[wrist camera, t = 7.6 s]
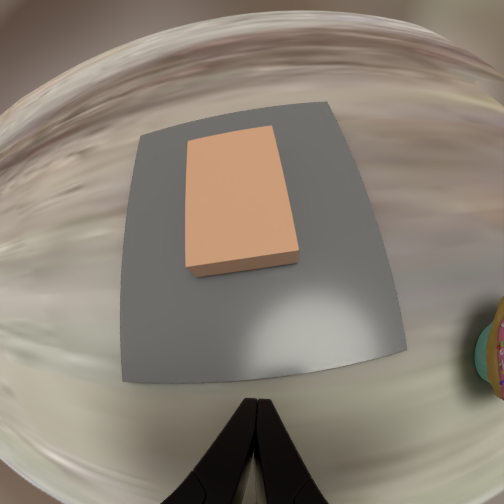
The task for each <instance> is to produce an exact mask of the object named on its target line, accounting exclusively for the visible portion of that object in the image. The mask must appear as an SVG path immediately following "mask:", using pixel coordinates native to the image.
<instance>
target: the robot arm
mask: <svg viewBox="0 0 504 504" xmlns="http://www.w3.org/2000/svg"><path fill="white" fill-rule="evenodd" d="M256 415H257V416H256ZM254 441H255V442H254ZM253 452H254V472H255V486H256V499H257V504H329V503H328V502H327V501H326V499H325V498H324V497H323V495H322V493H321V492H320V490H319V489H318V487H317V485H316V484H315V482H314V480H313V478H311V475H310V473H309V471H308V470H307V468H306V466H305V464H304V462H303V460H302V459H301V457H300V455H299V453H298V451H297V449H296V447H295V446H294V444H293V442H292V440H291V438H290V436H289V434H288V432H287V430H286V428H285V426H284V425H283V423H282V421H281V419H280V417H279V415H278V413H277V411H276V409H275V407H274V405H273V403H272V401H271V400H270V399H258V403H257V399H256V398H245V399H244V400H243V401H242V403H241V404H240V406H239V407H238V408H237V410H236V411H235V413H234V414H233V416H232V417H231V419H230V420H229V421H228V423H227V424H226V426H225V427H224V429H223V430H222V431H221V433H220V434H219V435H218V437H217V438H216V440H215V441H214V442H213V444H212V445H211V446H210V448H209V449H208V450H207V452H206V453H205V454H204V456H203V457H202V458H201V460H200V461H199V462H198V464H197V465H196V466H195V467H194V469H193V471H191V472H190V474H189V475H188V476H187V477H186V479H185V480H184V481H183V482H182V483H181V484H180V485H179V487H178V488H177V489H176V490H175V491H174V492H173V493H172V494H171V495H170V496H168V497H167V498H166V499H165V500H164V501H163V502H162V503H161V504H241V503H242V500H243V496H244V492H245V488H246V484H247V480H248V476H249V472H250V468H251V464H252V459H253Z"/></svg>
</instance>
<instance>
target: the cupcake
mask: <svg viewBox="0 0 504 504" xmlns="http://www.w3.org/2000/svg"><path fill="white" fill-rule="evenodd" d="M475 366H476V370H477V372H478V374H479V375H480V377H481V378H482V379H484V380H485V381H487V382H489V383H490V384H491V385H492V387H493V389H494V392H495V395H496V396H497V397H499V398H501V399H503V400H504V297H503V298H502V299H501V300H500V302H499V305H498V308H497V311H496V314H495V317H494V320H493V322H492V323H491V324H490V325H488V326H487V327H486V328H485V329H484V330H483V331H482V333H481V334H480V336H479V338H478V341H477V344H476V348H475Z"/></svg>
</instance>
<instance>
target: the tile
mask: <svg viewBox="0 0 504 504" xmlns="http://www.w3.org/2000/svg"><path fill="white" fill-rule="evenodd" d="M298 257H299V247H298V242H297V237H296V231H295V226H294V221H293V216H292V212H291V207H290V202H289V197H288V192H287V188H286V183H285V179H284V174H283V170H282V165H281V161H280V157H279V152H278V148H277V144H276V140H275V136H274V132H273V127H272V125H271V126H264V127H257V128H251V129H245V130H239V131H233V132H228V133H223V134H218V135H213V136H208V137H203V138H199V139H194V140H190V141H188V146H187V166H186V197H185V264H186V268H187V269H188V270H189V271H190V272H191V273H192V274H193V275H195V276H196V277H202V276H210V275H217V274H224V273H231V272H238V271H245V270H252V269H259V268H266V267H273V266H279V265H286V264H293V263H298Z"/></svg>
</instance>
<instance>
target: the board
mask: <svg viewBox="0 0 504 504" xmlns="http://www.w3.org/2000/svg"><path fill="white" fill-rule="evenodd" d="M271 125H272V127H273V132H274V136H275V140H276V144H277V148H278V152H279V157H280V161H281V165H282V170H283V174H284V179H285V183H286V188H287V192H288V197H289V202H290V207H291V212H292V216H293V221H294V226H295V231H296V237H297V242H298V247H299V257H298V263H293V264H286V265H279V266H273V267H266V268H259V269H252V270H245V271H238V272H231V273H224V274H217V275H210V276H202V277H196V276H195V275H193V274H192V273H191V272H190V271H189V270H188V269H187V268H186V264H185V197H186V166H187V146H188V141H190V140H194V139H199V138H203V137H208V136H213V135H218V134H223V133H228V132H233V131H239V130H245V129H251V128H257V127H264V126H271ZM120 342H121V364H122V379H123V382H136V383H214V382H231V381H244V380H255V379H264V378H273V377H281V376H289V375H296V374H302V373H308V372H314V371H320V370H326V369H331V368H336V367H341V366H346V365H351V364H355V363H359V362H364V361H368V360H372V359H376V358H380V357H384V356H388V355H391V354H395V353H398V352H402V351H405V350H407V346H406V339H405V333H404V328H403V322H402V317H401V312H400V307H399V303H398V298H397V293H396V289H395V285H394V281H393V277H392V273H391V269H390V265H389V261H388V258H387V254H386V251H385V247H384V244H383V240H382V237H381V234H380V230H379V227H378V224H377V221H376V218H375V215H374V212H373V209H372V206H371V203H370V201H369V198H368V195H367V192H366V189H365V187H364V184H363V182H362V179H361V176H360V174H359V171H358V169H357V166H356V164H355V161H354V159H353V157H352V154H351V152H350V150H349V147H348V145H347V143H346V140H345V138H344V136H343V134H342V132H341V129H340V127H339V125H338V123H337V121H336V119H335V117H334V115H333V113H332V111H331V109H330V107H329V105H328V103H327V102H313V103H301V104H291V105H282V106H273V107H266V108H259V109H252V110H246V111H240V112H235V113H229V114H224V115H219V116H214V117H210V118H205V119H201V120H196V121H192V122H188V123H184V124H180V125H176V126H172V127H169V128H165V129H162V130H158V131H155V132H151V133H148V134H145V135H142V136H140V141H139V145H138V150H137V155H136V160H135V165H134V171H133V176H132V182H131V188H130V194H129V201H128V208H127V216H126V225H125V234H124V244H123V256H122V271H121V294H120Z"/></svg>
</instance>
